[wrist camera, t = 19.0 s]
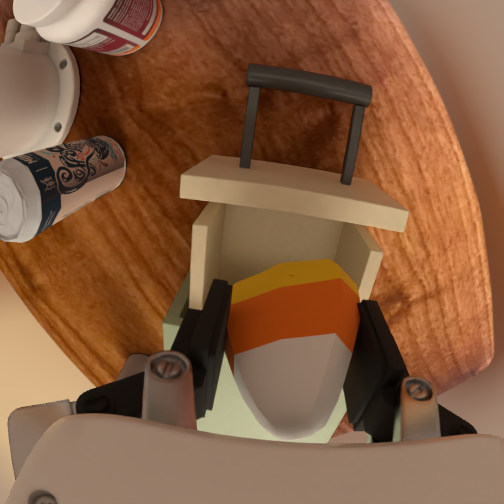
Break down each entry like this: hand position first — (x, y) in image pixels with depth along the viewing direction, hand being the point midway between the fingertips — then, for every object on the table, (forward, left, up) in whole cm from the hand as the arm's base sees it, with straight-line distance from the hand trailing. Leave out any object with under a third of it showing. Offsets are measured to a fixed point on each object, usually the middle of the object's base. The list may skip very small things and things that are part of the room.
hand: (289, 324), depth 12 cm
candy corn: (0, 0, -3) cm, 3 cm away
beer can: (-3, -15, -13) cm, 20 cm away
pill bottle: (-15, -14, -13) cm, 24 cm away
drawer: (-1, 0, -12) cm, 12 cm away
